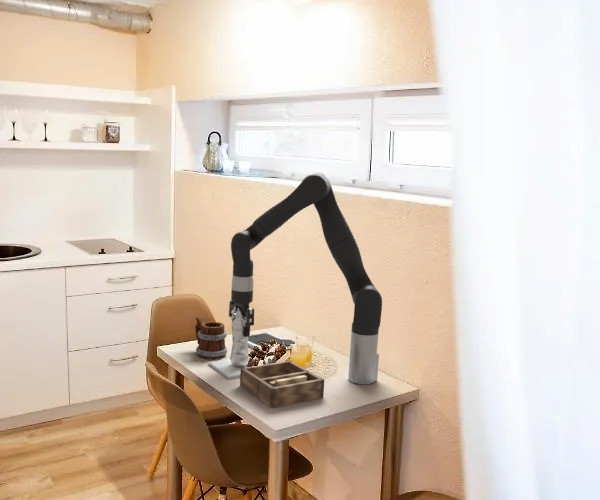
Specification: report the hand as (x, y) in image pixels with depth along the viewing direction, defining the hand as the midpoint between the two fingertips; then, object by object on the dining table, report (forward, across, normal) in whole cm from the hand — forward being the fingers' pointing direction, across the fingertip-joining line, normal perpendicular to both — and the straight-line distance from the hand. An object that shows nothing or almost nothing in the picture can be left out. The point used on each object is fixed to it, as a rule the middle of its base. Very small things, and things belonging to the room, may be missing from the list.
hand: (240, 333), depth 227 cm
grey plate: (+13, 0, 0) cm, 13 cm away
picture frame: (+14, +21, -23) cm, 34 cm away
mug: (+13, +19, +3) cm, 23 cm away
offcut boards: (+13, -31, -2) cm, 33 cm away
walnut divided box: (+13, -25, -2) cm, 28 cm away
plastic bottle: (+12, 0, 0) cm, 12 cm away
